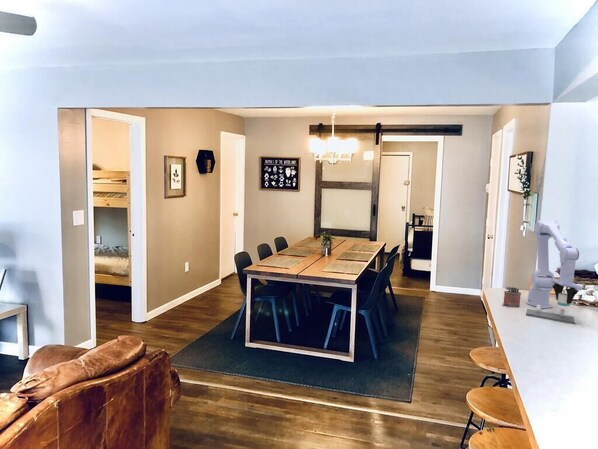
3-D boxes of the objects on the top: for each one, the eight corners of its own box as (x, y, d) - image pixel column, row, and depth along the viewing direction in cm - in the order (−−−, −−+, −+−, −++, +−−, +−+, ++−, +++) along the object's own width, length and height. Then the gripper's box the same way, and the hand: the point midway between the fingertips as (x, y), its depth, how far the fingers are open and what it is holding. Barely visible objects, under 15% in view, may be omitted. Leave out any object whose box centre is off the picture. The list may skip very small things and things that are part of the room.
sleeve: (555, 303, 220) (556, 293, 219) (562, 302, 222) (563, 292, 221) (564, 306, 216) (565, 296, 215) (571, 305, 218) (572, 295, 217)
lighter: (518, 305, 239) (520, 286, 238) (520, 307, 236) (522, 288, 235) (501, 304, 240) (503, 285, 239) (504, 306, 237) (506, 287, 235)
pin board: (525, 315, 223) (526, 305, 223) (527, 310, 231) (528, 301, 230) (574, 323, 213) (575, 313, 213) (573, 318, 221) (575, 308, 221)
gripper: (547, 270, 222) (544, 298, 224) (575, 277, 209) (572, 306, 211) (557, 269, 225) (554, 297, 227) (586, 276, 212) (582, 305, 213)
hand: (563, 301), depth 219 cm, fingers closed on sleeve, 5 cm apart
